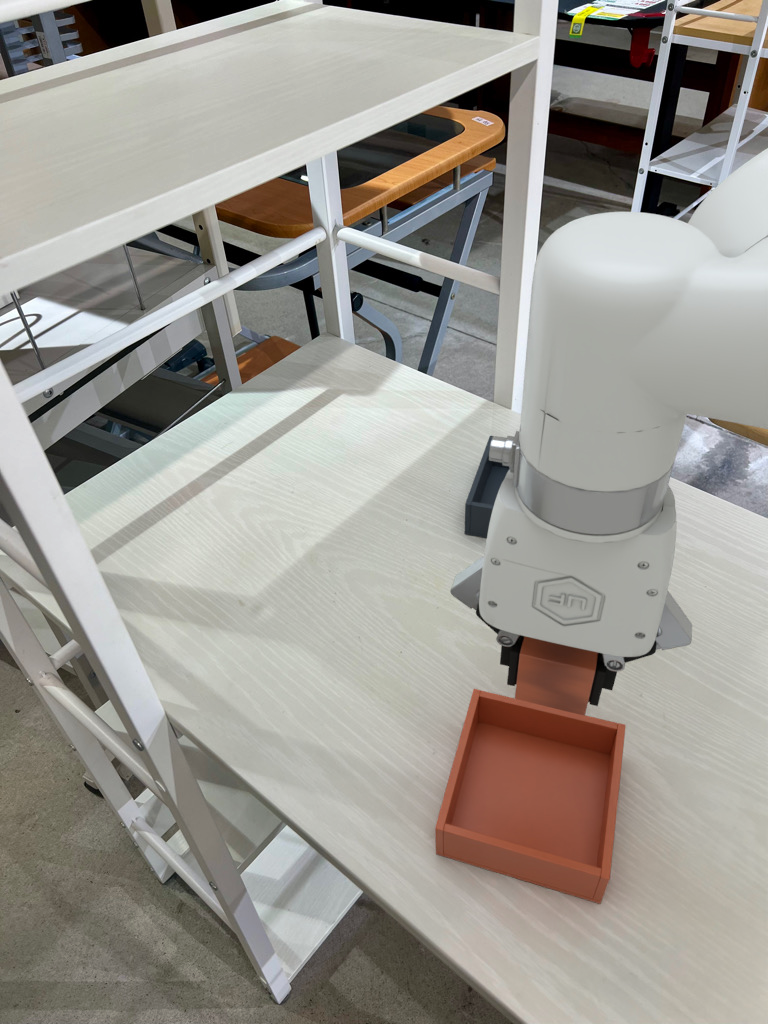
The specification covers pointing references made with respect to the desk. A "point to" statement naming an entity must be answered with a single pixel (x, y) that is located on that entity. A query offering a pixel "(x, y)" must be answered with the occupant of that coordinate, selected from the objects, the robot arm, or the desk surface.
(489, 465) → the slate bin
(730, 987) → the desk surface
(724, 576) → the desk surface
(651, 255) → the robot arm
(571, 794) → the terracotta bin
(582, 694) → the terracotta block
